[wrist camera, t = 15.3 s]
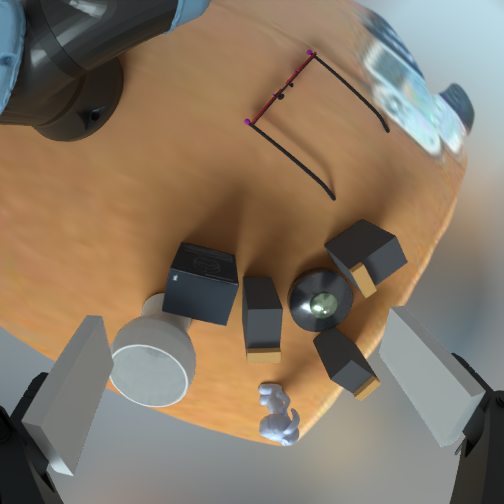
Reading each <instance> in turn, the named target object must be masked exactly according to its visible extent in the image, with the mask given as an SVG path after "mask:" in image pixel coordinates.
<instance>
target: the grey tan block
mask: <svg viewBox="0 0 504 504" xmlns="http://www.w3.org/2000/svg"><path fill="white" fill-rule="evenodd" d="M282 314H283V308H282V305H281V302H280V300H279V297H278V294H277V292H276V289H275V286H274V284H273V281H272V278H271V277H243V301H242V323H243V331H244V340H245V348H246V357H247V364H257V363H280V358H281V350H280V338H281V326H282Z"/></svg>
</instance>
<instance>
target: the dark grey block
mask: <svg viewBox="0 0 504 504" xmlns="http://www.w3.org/2000/svg"><path fill="white" fill-rule="evenodd" d="M313 342H314V345H315V347H316V349H317V351H318V353H319V355H320V358H321V360H322V362H323V364H324V366H325V369H326V371H327V373H328V375H329V377H330V379H331V380H332V381H334V382H335V383H337V384H339V385H340V386H342V387H343V388H345V389H347V390H348V391H350V392H351V393H353V395H354V397H355V398H356V399H358V400H360V401H362V400H363V399H364V398H365V397H367V396H368V395H369V394H370V393H371V392H372V391H373V390H374V389H376V388H377V387H378V386H379V385H380V384H381V383H380V381H379V379H378V378H377V376H376V375H375V373H374V372H373V370H372V369H371V367H370V365H369V364H368V362H367V361H366V359H365V358H364V356H363V355H362V353H361V351H360V350H359V348H358V347H357V345H356V344H355V343H354V342H352V341H351V340H350V339H349V338H347V337H346V336H345V335H343V334H342V333H341V332H340V331H338V330H337V329H336V328H335V327H334V328H332V329H329V330H326V331H323V332H322V333H321V334H320V335H319V336H318V337H317V338H316V339H315V340H314V341H313Z"/></svg>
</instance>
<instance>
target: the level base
mask: <svg viewBox="0 0 504 504" xmlns="http://www.w3.org/2000/svg"><path fill="white" fill-rule="evenodd" d="M287 302H288V307H289V310H290V313H291V315H292V317H293V319H294V321H295V322H296V323H297V325H298V326H300V327H301V328H303V329H305V330H307V331H311V332H322V331H326V330H329V329H332V328H334V327H335V326H337V325H338V324H340V323H341V322H342V321H343V320H344V319H345V318H346V316H347V315H348V313H349V311H350V309H351V306H352V302H353V294H352V290H351V287H350V285H349V284H348V282H347V281H346V280H345V279H344V278H343V277H342V276H341V275H340V274H339V273H338V272H336V271H335V270H333V269H330V268H324V267H320V268H313V269H310V270H308V271H306V272H304V273H302V274H301V275H300V276H299V277H298V278H297V279H296V280H295V281H294V282H293V284H292V285H291V287H290V289H289V292H288V297H287Z"/></svg>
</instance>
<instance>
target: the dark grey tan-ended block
mask: <svg viewBox="0 0 504 504" xmlns="http://www.w3.org/2000/svg"><path fill="white" fill-rule="evenodd" d="M324 246H325V248H326V250H327V251H328V253H329V255H330V256H331V258H332V260H333V261H334V263H335V265H336V267H337V268H338V269H339V270H340V271H341V272H342V273H343V274H344V275H345V276H346V277H347V278H348V279H349V280H350V281H351V282H352V284H353V285H354V286H355V287H356V288H357V289H358V290H359V291H360V292H361V293H362V294H363V295H364V296H365V297H366V298H367V297H369V296H370V295H372V294H373V293H374V292H376V291H377V290H376V288H375V286H376V285H377V284H379V283H380V282H382V281H383V280H384V279H386V278H387V277H388V276H390V275H391V274H393V273H394V272H395V271H397V270H398V269H399V268H401V267H402V266H403V265H405V264H406V263H407V260H406V258H405V255H404V253H403V251H402V248H401V246H400V244H399V242H398V240H397V237H396V236H395V235H393V234H391V233H389V232H387V231H385V230H383V229H381V228H379V227H377V226H376V225H374V224H372V223H370V222H368V221H366V220H364V219H362V220H360V221H359V222H357V223H356V224H355V225H353V226H352V227H350V228H349V229H347V230H346V231H344V232H343V233H342V234H340V235H339V236H337V237H336V238H334V239H333V240H331V241H330V242H328V243H327V244H325V245H324Z"/></svg>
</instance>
